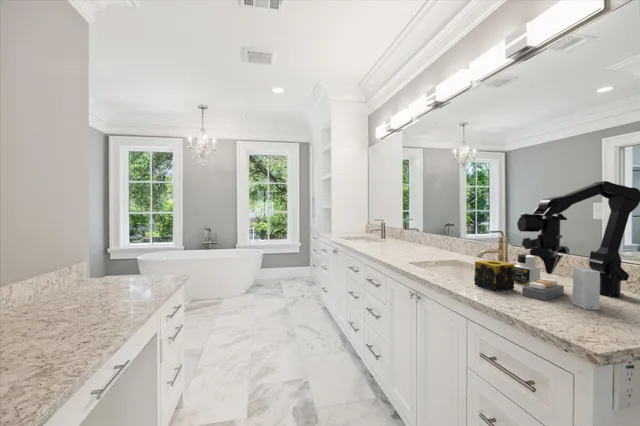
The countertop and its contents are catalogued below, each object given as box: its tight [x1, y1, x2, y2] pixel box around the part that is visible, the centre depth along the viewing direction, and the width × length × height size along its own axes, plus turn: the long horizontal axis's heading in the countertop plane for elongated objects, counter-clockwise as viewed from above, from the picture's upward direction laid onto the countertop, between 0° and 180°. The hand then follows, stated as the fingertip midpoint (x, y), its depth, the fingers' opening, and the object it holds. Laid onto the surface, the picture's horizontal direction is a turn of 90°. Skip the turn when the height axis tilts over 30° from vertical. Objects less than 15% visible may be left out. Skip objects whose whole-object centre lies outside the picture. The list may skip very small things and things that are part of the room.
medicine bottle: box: [514, 253, 541, 286], centre depth 125 cm, size 7×7×12 cm
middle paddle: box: [536, 279, 552, 287], centre depth 109 cm, size 3×4×1 cm, turn 33°
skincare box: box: [572, 267, 601, 311], centre depth 96 cm, size 6×4×12 cm
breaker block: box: [521, 283, 565, 302], centre depth 109 cm, size 16×7×3 cm, turn 123°
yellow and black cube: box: [473, 259, 515, 292], centre depth 119 cm, size 10×10×10 cm
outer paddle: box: [529, 282, 546, 289], centre depth 106 cm, size 3×4×1 cm, turn 33°
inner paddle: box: [541, 278, 558, 285], centre depth 111 cm, size 3×4×1 cm, turn 33°
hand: (549, 273), depth 111 cm, fingers closed
